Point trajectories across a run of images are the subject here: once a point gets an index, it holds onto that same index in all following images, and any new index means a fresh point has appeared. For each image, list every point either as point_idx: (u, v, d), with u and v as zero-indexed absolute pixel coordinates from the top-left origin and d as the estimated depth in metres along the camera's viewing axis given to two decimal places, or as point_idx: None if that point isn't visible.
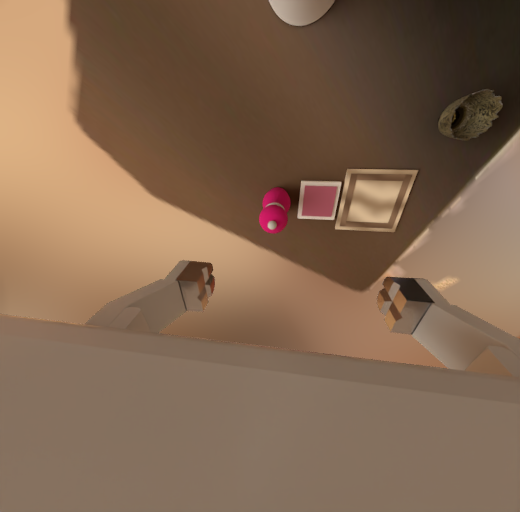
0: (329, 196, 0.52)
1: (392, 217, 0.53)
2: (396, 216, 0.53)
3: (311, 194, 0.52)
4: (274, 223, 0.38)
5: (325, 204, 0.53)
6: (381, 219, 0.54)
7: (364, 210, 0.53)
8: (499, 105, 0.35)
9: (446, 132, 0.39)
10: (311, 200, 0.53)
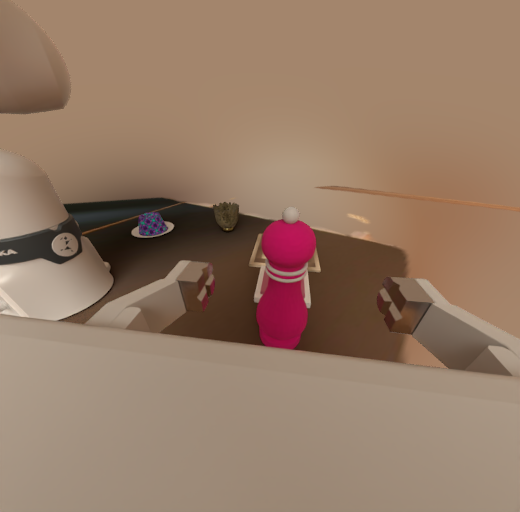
0: None
1: None
2: None
3: None
4: None
5: None
6: None
7: None
8: (224, 203, 0.61)
9: (232, 215, 0.56)
10: None
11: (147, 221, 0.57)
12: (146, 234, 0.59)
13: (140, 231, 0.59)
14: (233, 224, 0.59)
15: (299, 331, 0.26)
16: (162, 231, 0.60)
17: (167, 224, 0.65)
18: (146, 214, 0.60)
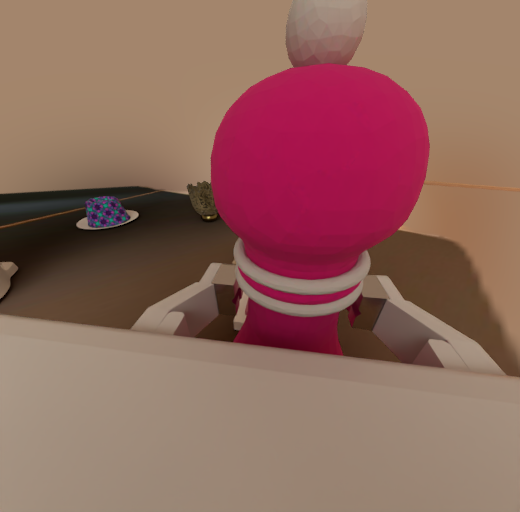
0: None
1: None
2: None
3: None
4: None
5: None
6: None
7: None
8: (204, 183, 0.45)
9: (213, 197, 0.41)
10: None
11: (96, 207, 0.41)
12: (96, 225, 0.43)
13: (89, 221, 0.43)
14: (215, 210, 0.43)
15: None
16: (120, 221, 0.44)
17: (131, 213, 0.49)
18: (98, 199, 0.45)
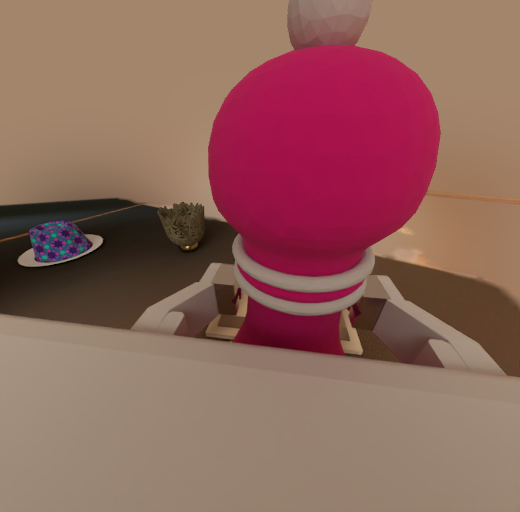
0: None
1: None
2: None
3: None
4: None
5: None
6: None
7: None
8: (182, 205, 0.37)
9: (190, 225, 0.32)
10: None
11: (41, 238, 0.33)
12: (43, 259, 0.34)
13: None
14: (195, 240, 0.34)
15: None
16: (75, 253, 0.35)
17: (94, 239, 0.41)
18: (49, 224, 0.36)
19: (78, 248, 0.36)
